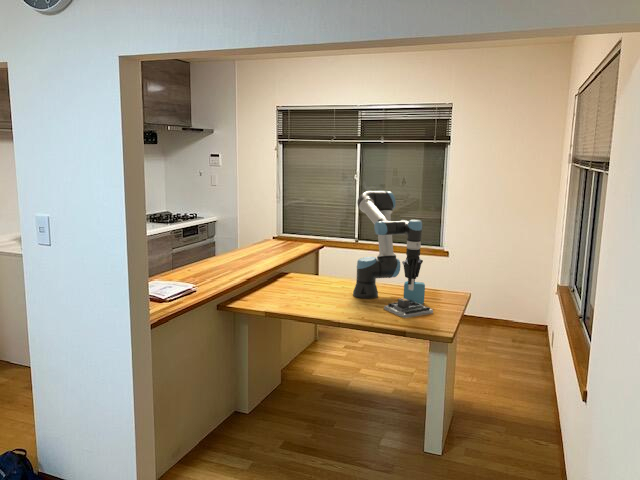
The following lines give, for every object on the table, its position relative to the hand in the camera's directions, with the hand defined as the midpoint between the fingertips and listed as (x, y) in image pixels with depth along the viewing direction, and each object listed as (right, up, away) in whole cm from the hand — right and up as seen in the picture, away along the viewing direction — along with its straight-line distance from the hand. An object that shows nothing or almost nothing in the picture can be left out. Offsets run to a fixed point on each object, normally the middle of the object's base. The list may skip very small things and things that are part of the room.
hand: (410, 289), depth 296 cm
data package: (+5, -9, +18) cm, 21 cm away
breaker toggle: (-4, -10, -1) cm, 11 cm away
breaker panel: (-1, -12, +1) cm, 12 cm away
